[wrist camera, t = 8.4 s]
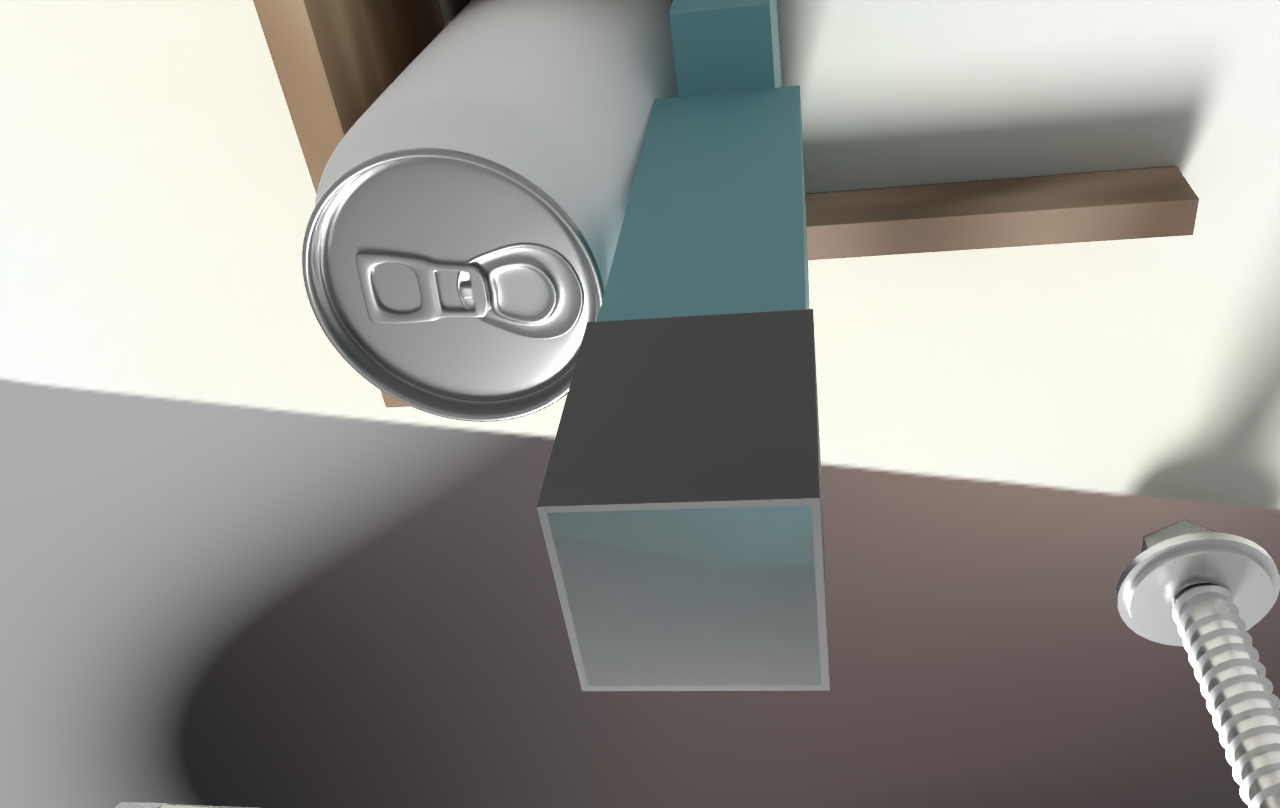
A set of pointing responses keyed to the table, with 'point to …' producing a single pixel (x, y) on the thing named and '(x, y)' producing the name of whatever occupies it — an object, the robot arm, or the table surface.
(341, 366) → the table surface
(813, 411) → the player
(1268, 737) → the screw
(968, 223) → the wooden box
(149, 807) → the robot arm
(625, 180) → the can
